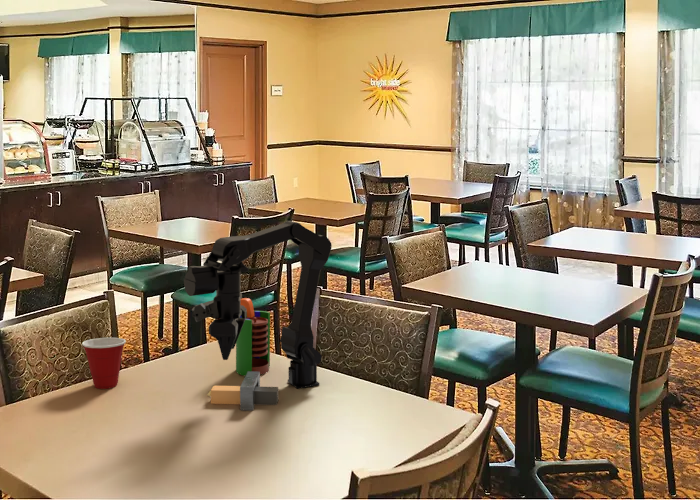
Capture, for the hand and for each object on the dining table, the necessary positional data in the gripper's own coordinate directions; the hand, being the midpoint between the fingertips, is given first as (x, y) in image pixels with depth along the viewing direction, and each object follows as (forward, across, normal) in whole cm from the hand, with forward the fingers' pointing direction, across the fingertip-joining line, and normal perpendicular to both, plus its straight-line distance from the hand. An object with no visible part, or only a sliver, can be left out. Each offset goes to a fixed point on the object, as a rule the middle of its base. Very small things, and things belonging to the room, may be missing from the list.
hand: (228, 354), depth 190 cm
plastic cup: (+13, -11, -34) cm, 38 cm away
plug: (+12, 0, +4) cm, 13 cm away
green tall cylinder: (+12, -24, +3) cm, 27 cm away
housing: (+12, 0, +5) cm, 13 cm away
